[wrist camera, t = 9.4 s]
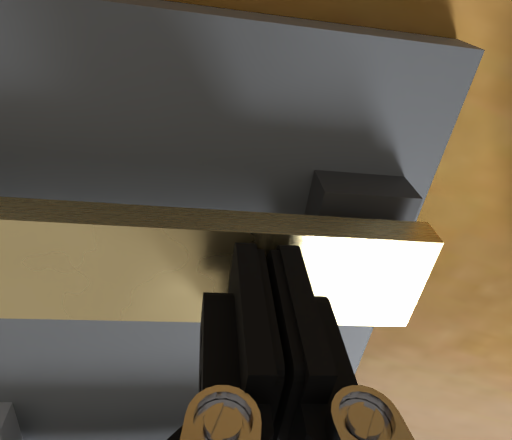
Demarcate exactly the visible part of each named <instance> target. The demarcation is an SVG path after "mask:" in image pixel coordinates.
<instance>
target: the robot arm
mask: <svg viewBox="0 0 512 440" xmlns="http://www.w3.org/2000/svg"><path fill="white" fill-rule="evenodd" d="M167 440H414V438H413V436H412V434H411V432H410V431H409V429H408V427H407V425H406V423H405V422H404V420H403V418H402V416H401V415H400V413H399V411H398V410H397V408H396V407H395V405H394V404H393V403H392V401H390V400H389V399H388V398H387V397H386V396H385V395H384V394H382V393H380V392H379V391H377V390H375V389H373V388H370V387H366V386H363V385H358V384H357V381H356V378H355V375H354V372H353V369H352V366H351V363H350V360H349V357H348V354H347V351H346V348H345V345H344V342H343V339H342V336H341V333H340V330H339V327H338V324H337V321H336V318H335V315H334V312H333V309H332V306H331V303H330V301H329V299H328V298H327V297H326V296H314V293H313V290H312V286H311V283H310V280H309V276H308V273H307V270H306V266H305V263H304V259H303V256H302V253H301V249H300V247H299V246H296V245H277V247H276V250H269V253H268V257H267V262H266V257H265V251H264V249H257V245H256V243H238V242H235V244H234V250H233V258H232V265H231V273H230V281H229V288H228V293H212V292H203V300H202V311H201V325H200V351H199V393H198V394H196V396H195V397H194V398H193V399H192V400H191V402H190V403H189V405H188V408H187V410H186V413H185V418H184V422H183V425H182V426H181V427H180V428H179V429H178V430H177V431H176V432H174V433H173V434H172V435H171V436H170V437H169V438H168V439H167Z"/></svg>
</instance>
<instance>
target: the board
mask: <svg viewBox="0 0 512 440" xmlns="http://www.w3.org/2000/svg"><path fill="white" fill-rule="evenodd" d="M484 51H485V50H483V49H481V48H478V47H476V46H473V45H471V44H468V43H466V42H463V41H461V40H458V39H452V38H444V37H437V36H429V35H421V34H414V33H406V32H399V31H391V30H384V29H376V28H368V27H361V26H353V25H346V24H338V23H331V22H323V21H316V20H308V19H300V18H293V17H285V16H278V15H270V14H263V13H255V12H247V11H240V10H232V9H225V8H217V7H210V6H202V5H194V4H187V3H179V2H172V1H164V0H0V196H1V197H18V198H34V199H51V200H67V201H84V202H100V203H117V204H133V205H150V206H166V207H183V208H200V209H216V210H233V211H249V212H266V213H282V214H299V215H315V216H332V217H348V218H365V219H382V220H398V221H415V222H416V220H417V218H418V215H419V213H420V210H421V208H422V205H423V203H424V200H425V198H426V195H427V193H428V190H429V188H430V185H431V183H432V180H433V178H434V175H435V173H436V170H437V168H438V165H439V163H440V160H441V158H442V155H443V153H444V150H445V148H446V145H447V143H448V140H449V138H450V135H451V133H452V130H453V128H454V125H455V123H456V120H457V118H458V115H459V113H460V110H461V108H462V105H463V103H464V100H465V98H466V95H467V93H468V90H469V88H470V85H471V83H472V80H473V78H474V75H475V73H476V70H477V68H478V65H479V63H480V60H481V58H482V56H483V53H484ZM200 325H201V322H154V321H104V320H54V319H4V318H0V440H167V439H168V438H169V437H170V436H171V435H172V434H173V433H174V432H176V431H177V430H178V429H179V428H180V427H181V426H182V425H183V422H184V418H185V413H186V410H187V408H188V405H189V403H190V402H191V400H192V399H193V398H194V397H195V396H196V394H198V393H199V351H200ZM338 327H339V330H340V333H341V336H342V339H343V342H344V345H345V348H346V351H347V354H348V357H349V360H350V363H351V366H352V369H353V372H354V375H355V372H356V370H357V367H358V365H359V362H360V360H361V357H362V355H363V352H364V350H365V347H366V345H367V342H368V340H369V338H370V335H371V333H372V330H373V328H374V326H354V325H338Z"/></svg>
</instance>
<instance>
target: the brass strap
mask: <svg viewBox="0 0 512 440" xmlns="http://www.w3.org/2000/svg"><path fill="white" fill-rule="evenodd" d="M235 242H238V243H256V245H257V249H264V251H265V257H266V262H267V257H268V253H269V250H276V247H277V245H296V246H299V247H300V249H301V253H302V256H303V259H304V263H305V266H306V270H307V273H308V276H309V280H310V283H311V286H312V290H313V293H314V296H326V297H327V298H328V299H329V301H330V303H331V306H332V309H333V312H334V315H335V318H336V321H337V324H338V325H354V326H404V327H406V325H407V323H408V320H409V318H410V316H411V314H412V312H413V309H414V307H415V305H416V303H417V301H418V299H419V296H420V294H421V292H422V290H423V288H424V285H425V283H426V281H427V279H428V277H429V275H430V272H431V270H432V268H433V266H434V264H435V261H436V259H437V257H438V255H439V253H440V251H441V248H442V246H443V244H444V242H443V241H442V240H441V239H440V237H439V236H438V235H437V233H436V232H435V231H434V230H433V228H432V227H431V226H430V224H429V223H428V222H415V221H398V220H382V219H365V218H348V217H332V216H315V215H299V214H282V213H266V212H249V211H233V210H216V209H200V208H183V207H166V206H150V205H133V204H117V203H100V202H84V201H67V200H51V199H34V198H18V197H1V196H0V318H4V319H54V320H104V321H154V322H201V311H202V300H203V292H212V293H228V288H229V281H230V273H231V265H232V258H233V250H234V244H235Z"/></svg>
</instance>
